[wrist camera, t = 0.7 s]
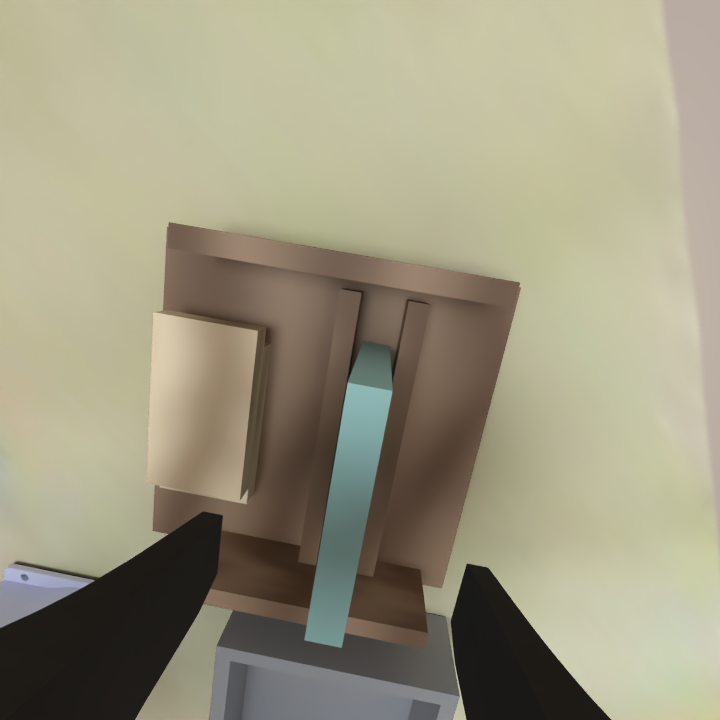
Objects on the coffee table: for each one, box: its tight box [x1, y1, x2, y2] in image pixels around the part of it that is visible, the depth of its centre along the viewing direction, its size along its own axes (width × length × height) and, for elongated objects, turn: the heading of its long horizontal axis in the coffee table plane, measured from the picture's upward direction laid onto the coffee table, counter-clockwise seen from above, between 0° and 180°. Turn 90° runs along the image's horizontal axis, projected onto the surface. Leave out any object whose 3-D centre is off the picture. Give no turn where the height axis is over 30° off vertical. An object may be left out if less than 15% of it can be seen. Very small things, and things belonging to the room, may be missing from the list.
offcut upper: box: [146, 310, 266, 501], centre depth 18 cm, size 5×9×1 cm, turn 170°
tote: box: [209, 610, 460, 720], centre depth 22 cm, size 13×14×4 cm
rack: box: [153, 222, 521, 649], centre depth 18 cm, size 18×18×5 cm
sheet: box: [304, 341, 393, 648], centre depth 16 cm, size 1×10×8 cm, turn 171°
